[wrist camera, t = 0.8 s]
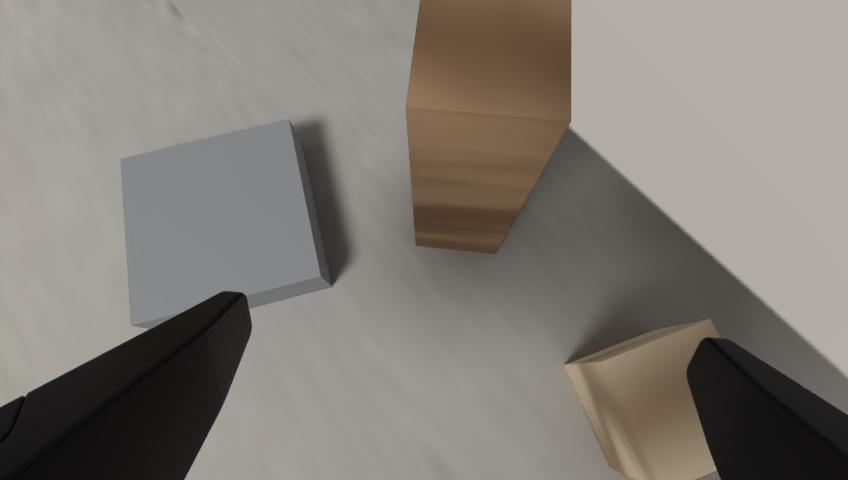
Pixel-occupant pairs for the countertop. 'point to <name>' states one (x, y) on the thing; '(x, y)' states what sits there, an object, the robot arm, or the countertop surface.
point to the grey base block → (220, 223)
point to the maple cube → (646, 403)
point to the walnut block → (484, 114)
